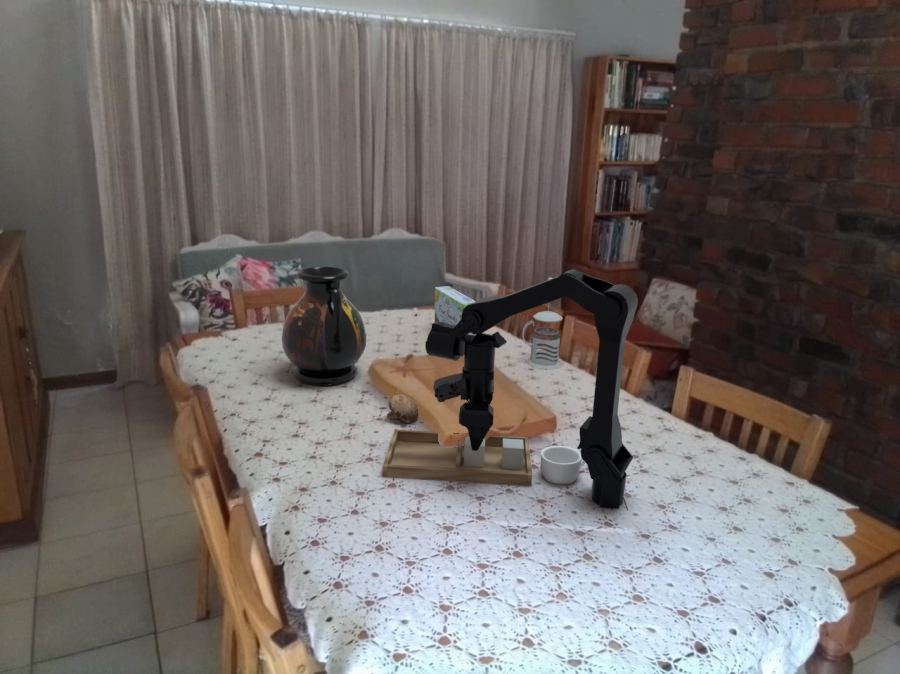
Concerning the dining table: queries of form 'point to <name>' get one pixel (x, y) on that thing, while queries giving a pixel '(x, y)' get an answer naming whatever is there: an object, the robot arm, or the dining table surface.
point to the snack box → (450, 305)
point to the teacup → (560, 464)
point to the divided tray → (451, 460)
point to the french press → (545, 342)
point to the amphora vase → (323, 330)
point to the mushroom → (402, 408)
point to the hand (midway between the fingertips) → (475, 439)
